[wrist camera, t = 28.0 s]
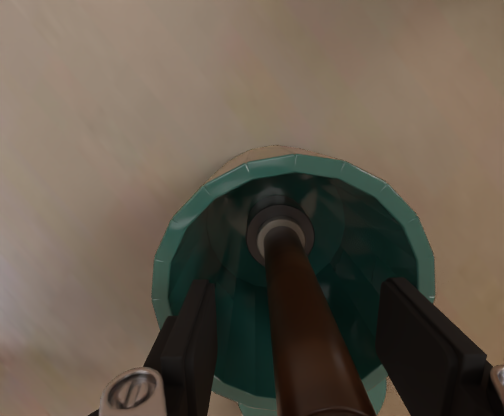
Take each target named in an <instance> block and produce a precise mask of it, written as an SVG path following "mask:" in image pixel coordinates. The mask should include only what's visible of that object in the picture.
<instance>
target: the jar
mask: <svg viewBox="0 0 504 416" xmlns="http://www.w3.org/2000/svg"><path fill="white" fill-rule="evenodd" d="M275 195H281V196H286V197H289V198H291V199H293V200H295V201H296V202H297V203H298V204H299V205H300V206H301V207H302V209H303V210H304V212H305V213H306V215H307V216H308V218H309V219H310V221H311V223H312V225H313V228H314V232H315V241H314V245H313V248H312V250H311V252H310V254H309V255H308V259H309V262H310V264H311V266H312V268H313V271H314V273H315V275H316V278H317V280H318V282H319V284H320V287H321V289H322V291H323V294H324V296H325V298H326V301H327V303H328V305H329V307H330V310H331V312H332V314H333V317H334V319H335V321H336V323H337V326H338V328H339V330H340V333H341V335H342V337H343V339H344V342H345V344H346V346H347V349H348V351H349V353H350V355H351V358H352V360H353V362H354V365H355V367H356V369H357V371H358V374H359V376H360V378H361V381H362V383H363V385H364V387H365V390H366V392H367V391H369V390H371V389H372V388H373V387H375V386H376V385H377V384H379V383H380V382H381V381H382V380H384V379H385V378H386V377H388V376H389V375H388V374H387V372H386V370H385V368H384V367H383V365H382V363H381V361H380V359H379V358H378V356H377V353H376V349H375V340H376V330H377V320H378V309H379V299H380V289H381V283H382V282H385V281H386V279H387V278H396V277H404V278H406V279H407V280H408V281H409V282H410V283H411V284H412V285H413V286H414V287H415V288H416V289H417V290H418V291H420V292H421V293H422V294H423V295H424V296H425V297H426V298H427V299H428V300H429V301H430V302H431V303H432V304H433V303H434V299H435V265H434V256H433V251H432V249H431V246H430V244H429V242H428V239H427V237H426V234H425V232H424V229H423V227H422V225H421V222H420V220H419V217H418V216H417V214H416V213H415V212H414V211H413V210H412V209H411V208H410V206H409V205H408V204H407V203H406V202H405V201H404V200H403V199H402V198H401V197H400V196H399V195H398V194H397V193H396V191H395V190H394V189H393V188H392V187H391V186H390V185H389V184H388V183H386V182H385V181H384V180H382V179H380V178H378V177H376V176H374V175H372V174H370V173H368V172H366V171H364V170H362V169H360V168H358V167H356V166H354V165H353V164H351V163H349V162H347V161H344V160H340V159H337V158H333V157H330V156H326V155H322V154H319V153H315V152H311V151H308V150H304V149H300V148H294V147H287V146H280V145H273V146H266V147H261V148H256V149H251V150H248V151H246V152H244V153H242V154H241V155H239V156H237V157H235V158H233V159H231V160H230V161H228V162H227V163H225V164H224V165H223V166H222V167H221V168H220V169H219V170H218V171H217V172H216V173H215V174H214V175H213V176H212V177H211V178H210V179H208V180H207V181H206V182H205V183H204V184H203V185H202V186H201V187H200V188H199V189H198V190H197V191H196V193H195V194H194V195H193V196H192V197H191V198H190V199H189V200H188V201H187V202H186V203H185V204H184V205H183V206H182V207H181V208H180V210H179V211H178V212H177V213H176V214H175V215H174V216H173V217H172V219H171V220H170V222H169V225H168V227H167V229H166V231H165V234H164V236H163V238H162V240H161V243H160V245H159V247H158V250H157V252H156V254H155V258H154V264H153V278H152V293H151V298H152V304H153V307H154V311H155V314H156V318H157V321H158V325H159V328H160V330H161V328H162V326H163V324H164V322H165V320H166V318H167V317H168V316H178V314H179V312H180V310H181V307H182V305H183V303H184V300H185V298H186V296H187V293H188V291H189V288H190V286H191V284H192V281H193V280H201V279H209V283H214V285H215V303H216V322H217V342H218V353H217V360H216V366H215V372H214V378H213V384H212V390H211V391H213V392H215V393H216V394H218V395H220V396H223V397H225V398H228V399H230V400H233V401H235V402H238V403H240V404H243V405H245V406H248V407H251V408H257V409H265V410H273V411H277V403H276V391H275V379H274V367H273V355H272V342H271V330H270V318H269V306H268V294H267V282H266V269H265V266H263V265H261V264H259V263H258V262H257V261H256V260H255V259H254V258H253V257H252V256H251V254H250V252H249V251H248V248H247V244H246V227H247V219H248V215H249V213H250V211H251V209H252V208H253V207H254V205H255V204H256V203H258V202H259V201H260V200H262V199H264V198H266V197H269V196H275Z"/></svg>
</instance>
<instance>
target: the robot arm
mask: <svg viewBox="0 0 504 416" xmlns="http://www.w3.org/2000/svg"><path fill="white" fill-rule="evenodd" d="M375 349H376V353H377V356H378V358H379V359H380V361H381V363H382V365H383V367H384V368H385V370H386V372H387V374H388V375H389V377H390V379H391V381H392V383H393V384H394V386H395V388H396V390H397V392H398V393H399V395H400V397H401V399H402V401H403V402H404V404H405V406H406V408H407V409H408V411H409V413H410V415H411V416H504V365H496V366H494V367H493V366H492V365H491V364H490V363H489V362H488V361H487V360H486V357H487V355H486V354H485V353H484V352H483V351H482V350H481V349H480V348H479V347H478V346H477V345H476V344H475V343H474V342H473V341H471V340H470V339H469V338H468V337H467V336H466V335H465V334H464V333H463V332H462V331H461V330H460V329H459V328H458V327H457V326H456V325H455V324H453V323H452V322H451V321H450V320H449V319H448V318H447V317H446V316H445V315H444V314H443V313H442V312H441V311H440V310H439V309H438V308H437V307H435V306H434V305H433V304H432V303H431V302H430V301H429V300H428V299H427V298H426V297H425V296H424V295H423V294H422V293H421V292H420V291H418V290H417V289H416V288H415V287H414V286H413V285H412V284H411V283H410V282H409V281H408V280H407V279H406V278H404V277H396V278H387V279H386V281H385V282H382V283H381V289H380V299H379V309H378V320H377V330H376V340H375ZM217 353H218V342H217V322H216V303H215V285H214V283H209V279H201V280H193V281H192V284H191V286H190V288H189V291H188V293H187V296H186V298H185V300H184V303H183V305H182V307H181V310H180V312H179V314H178V316H168V317H167V318H166V320H165V322H164V324H163V326H162V328H161V330H160V332H159V334H158V337H157V339H156V341H155V343H154V345H153V347H152V349H151V351H150V353H149V355H148V357H147V359H146V361H145V363H144V366H143V367H139V368H133V369H130V370H128V371H125V372H123V373H121V374H120V375H118V376H116V377H115V378H114V379H113V380H112V381H111V382H109V383H108V385H107V386H106V388H105V389H104V390H103V393H102V396H101V400H100V408H99V409H98V410H96V411H95V412H93V413H91V414H90V415H88V416H207V413H208V407H209V402H210V396H211V390H212V384H213V378H214V372H215V366H216V360H217Z"/></svg>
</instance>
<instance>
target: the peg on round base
mask: <svg viewBox="0 0 504 416" xmlns="http://www.w3.org/2000/svg"><path fill="white" fill-rule="evenodd" d="M314 241H315V232H314V228H313V225H312V223H311V221H310V219H309V218H308V216H307V215H306V213H305V212H304V210H303V209H302V207H301V206H300V205H299V204H298V203H297V202H296V201H295V200H293V199H291V198H289V197H286V196H281V195H275V196H269V197H266V198H264V199H262V200H260V201H259V202H258V203H256V204H255V205H254V207H253V208H252V209H251V211H250V213H249V215H248V219H247V227H246V244H247V248H248V251H249V252H250V254H251V256H252V257H253V258H254V259H255V260H256V261H257V262H258V263H259V264H261V265H263V266H265V269H266V282H267V294H268V306H269V318H270V330H271V342H272V355H273V367H274V379H275V391H276V403H277V416H377V415H376V413H375V410H374V408H373V406H372V403H371V401H370V399H369V397H368V394H367V392H366V390H365V387H364V385H363V383H362V381H361V378H360V376H359V374H358V371H357V369H356V367H355V365H354V362H353V360H352V358H351V355H350V353H349V351H348V349H347V346H346V344H345V342H344V339H343V337H342V335H341V333H340V330H339V328H338V326H337V323H336V321H335V319H334V317H333V314H332V312H331V310H330V307H329V305H328V303H327V301H326V298H325V296H324V294H323V291H322V289H321V287H320V284H319V282H318V280H317V278H316V275H315V273H314V271H313V268H312V266H311V264H310V262H309V259H308V255H309V254H310V252H311V250H312V248H313V245H314Z"/></svg>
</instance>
